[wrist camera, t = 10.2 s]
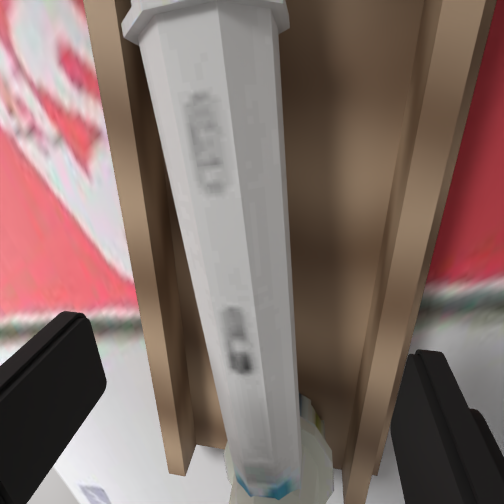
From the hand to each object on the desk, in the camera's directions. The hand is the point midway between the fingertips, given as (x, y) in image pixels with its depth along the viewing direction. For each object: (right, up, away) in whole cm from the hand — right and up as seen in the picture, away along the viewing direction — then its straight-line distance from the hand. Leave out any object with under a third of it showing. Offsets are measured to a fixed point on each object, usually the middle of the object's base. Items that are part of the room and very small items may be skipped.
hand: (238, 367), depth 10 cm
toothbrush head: (+1, +3, +5) cm, 6 cm away
